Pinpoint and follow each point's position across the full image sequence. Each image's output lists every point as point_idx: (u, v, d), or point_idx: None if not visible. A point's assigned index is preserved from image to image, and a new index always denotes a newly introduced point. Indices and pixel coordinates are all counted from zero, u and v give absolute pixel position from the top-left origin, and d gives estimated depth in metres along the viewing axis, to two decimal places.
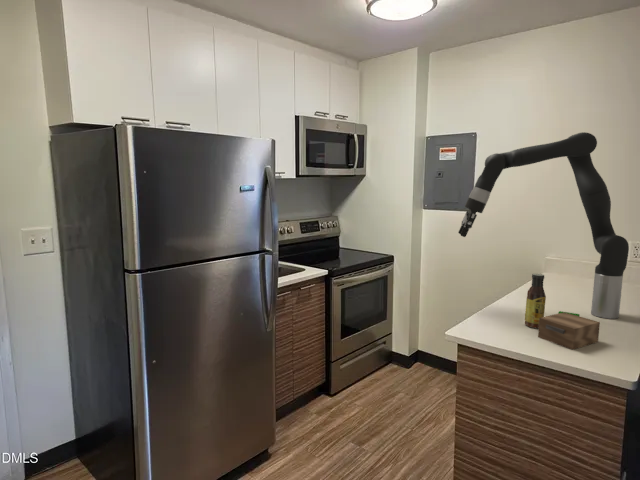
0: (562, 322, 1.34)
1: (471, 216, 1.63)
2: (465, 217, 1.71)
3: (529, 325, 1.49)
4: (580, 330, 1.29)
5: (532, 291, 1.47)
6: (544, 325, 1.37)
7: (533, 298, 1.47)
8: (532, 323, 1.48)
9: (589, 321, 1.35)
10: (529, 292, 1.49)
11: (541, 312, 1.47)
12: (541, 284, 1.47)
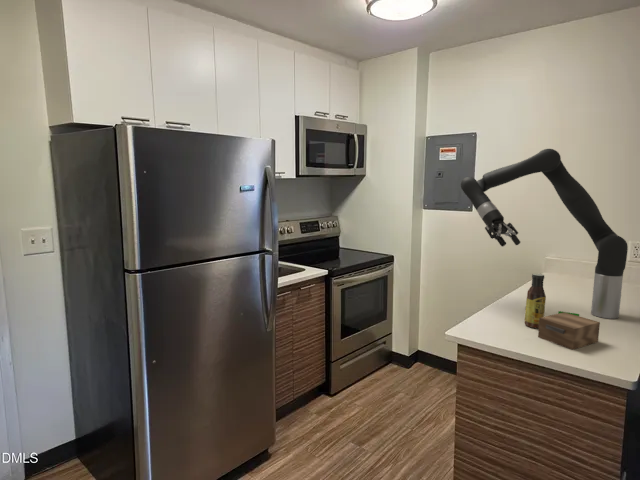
0: (562, 322, 1.34)
1: (487, 229, 1.64)
2: None
3: (529, 325, 1.49)
4: (580, 330, 1.29)
5: (532, 291, 1.47)
6: (544, 325, 1.37)
7: (533, 298, 1.47)
8: (532, 323, 1.48)
9: (589, 321, 1.35)
10: (529, 292, 1.49)
11: (541, 312, 1.47)
12: (541, 284, 1.47)
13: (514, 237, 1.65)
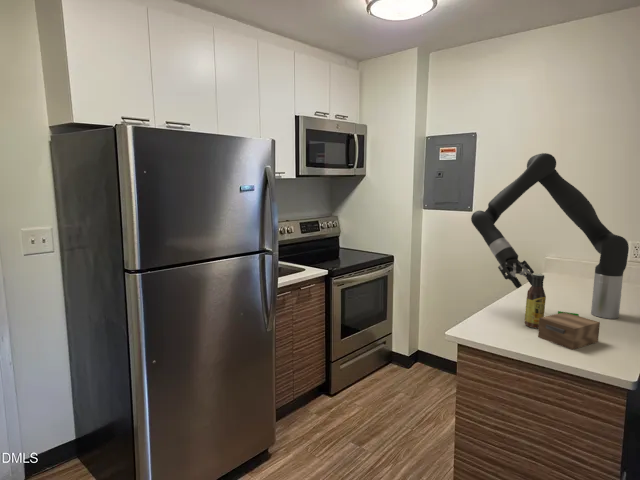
0: (562, 322, 1.34)
1: (500, 268, 1.54)
2: None
3: (529, 325, 1.49)
4: (580, 330, 1.29)
5: (532, 291, 1.47)
6: (544, 325, 1.37)
7: (533, 298, 1.47)
8: (532, 323, 1.48)
9: (589, 321, 1.35)
10: (529, 292, 1.49)
11: (541, 312, 1.47)
12: (541, 284, 1.47)
13: (530, 277, 1.55)
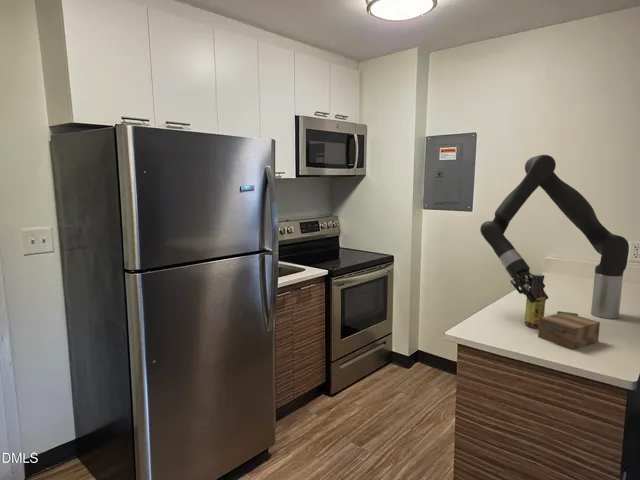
0: (562, 322, 1.34)
1: (513, 283, 1.50)
2: None
3: (529, 325, 1.49)
4: (580, 330, 1.29)
5: (532, 291, 1.47)
6: (544, 325, 1.37)
7: None
8: (532, 323, 1.48)
9: (589, 321, 1.35)
10: None
11: (541, 312, 1.47)
12: (541, 284, 1.46)
13: None
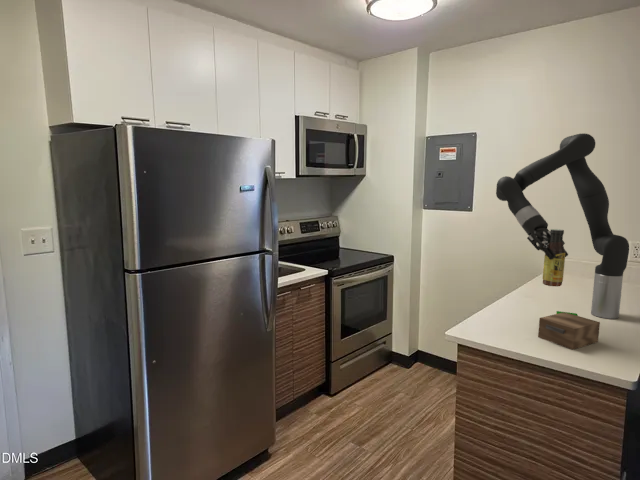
0: (562, 322, 1.34)
1: (530, 239, 1.41)
2: None
3: (547, 284, 1.40)
4: (580, 330, 1.29)
5: (551, 247, 1.39)
6: (544, 325, 1.37)
7: None
8: (551, 281, 1.39)
9: (589, 321, 1.35)
10: None
11: (561, 269, 1.38)
12: (560, 239, 1.38)
13: None
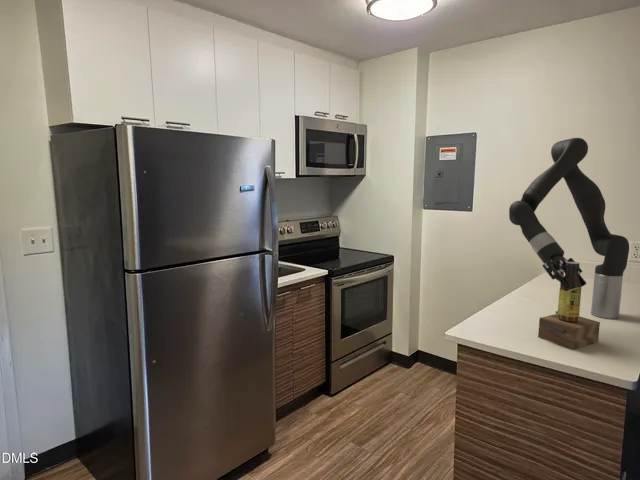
0: (562, 322, 1.34)
1: (545, 267, 1.35)
2: None
3: (563, 319, 1.34)
4: (580, 330, 1.29)
5: None
6: (544, 325, 1.37)
7: None
8: (567, 316, 1.34)
9: (589, 321, 1.35)
10: None
11: (577, 304, 1.33)
12: (576, 273, 1.33)
13: None
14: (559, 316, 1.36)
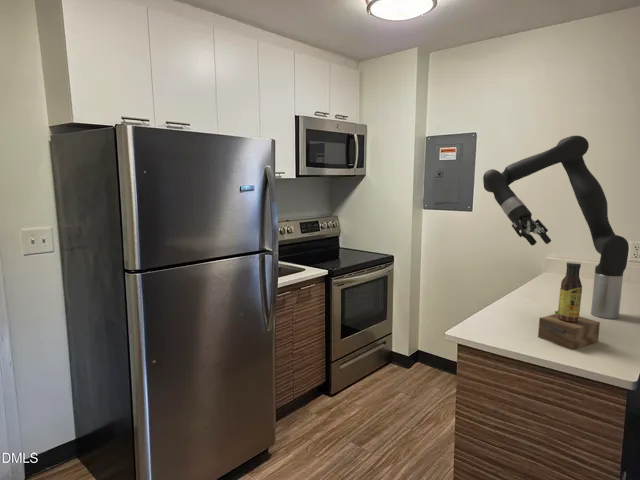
0: (562, 322, 1.34)
1: (514, 226, 1.49)
2: None
3: (563, 319, 1.34)
4: (580, 330, 1.29)
5: (567, 281, 1.33)
6: (544, 325, 1.37)
7: (568, 288, 1.33)
8: (567, 316, 1.34)
9: (589, 321, 1.35)
10: (563, 282, 1.35)
11: (577, 304, 1.32)
12: (577, 273, 1.33)
13: (544, 235, 1.50)
14: (559, 316, 1.36)
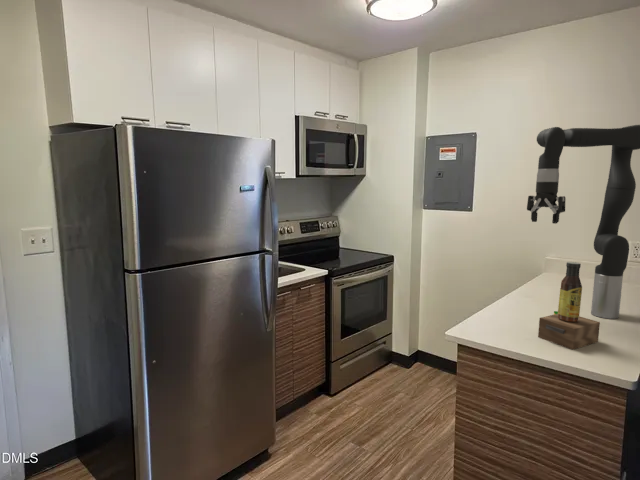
0: (562, 322, 1.34)
1: (562, 200, 1.49)
2: (539, 203, 1.57)
3: (563, 319, 1.34)
4: (580, 330, 1.29)
5: (567, 281, 1.33)
6: (544, 325, 1.37)
7: (568, 288, 1.33)
8: (567, 316, 1.34)
9: (589, 321, 1.35)
10: (563, 282, 1.34)
11: (577, 304, 1.32)
12: (577, 273, 1.33)
13: (536, 214, 1.60)
14: (559, 316, 1.36)
